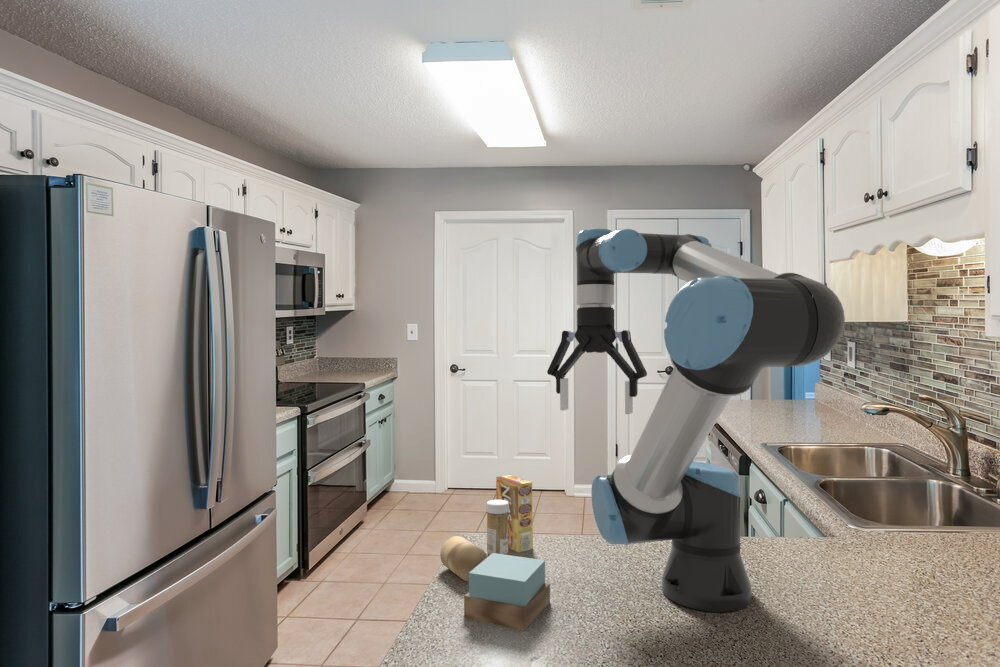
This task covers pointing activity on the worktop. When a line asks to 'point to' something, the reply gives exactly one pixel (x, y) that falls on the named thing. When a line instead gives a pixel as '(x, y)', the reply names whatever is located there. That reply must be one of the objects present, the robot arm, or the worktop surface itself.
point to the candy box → (517, 510)
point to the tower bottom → (507, 610)
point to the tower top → (507, 579)
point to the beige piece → (461, 556)
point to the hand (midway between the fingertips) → (595, 411)
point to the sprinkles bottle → (497, 527)
